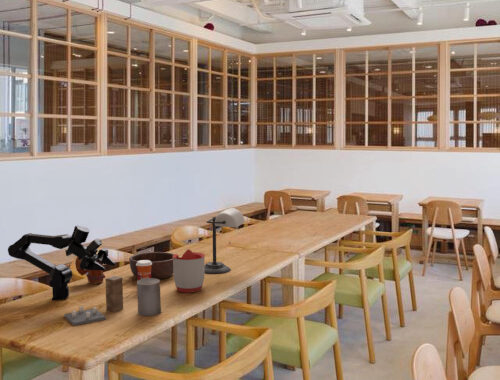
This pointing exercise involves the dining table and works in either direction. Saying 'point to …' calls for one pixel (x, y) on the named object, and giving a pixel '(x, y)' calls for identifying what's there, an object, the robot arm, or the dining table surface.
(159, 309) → the pillar candle
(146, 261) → the paper cup
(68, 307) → the dining table surface
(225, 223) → the lamp
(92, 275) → the mug
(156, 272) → the wooden bowl
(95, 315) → the peg nest
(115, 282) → the walnut post
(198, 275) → the citrus juicer
